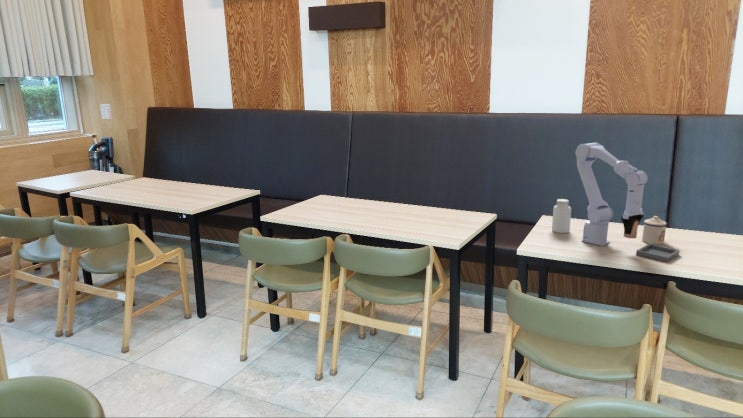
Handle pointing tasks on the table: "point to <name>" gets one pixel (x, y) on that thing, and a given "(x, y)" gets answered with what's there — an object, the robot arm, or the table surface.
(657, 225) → the teacup with lid
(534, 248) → the table surface
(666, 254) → the charcoal tray
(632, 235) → the terracotta cup
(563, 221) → the pill bottle
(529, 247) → the table surface
